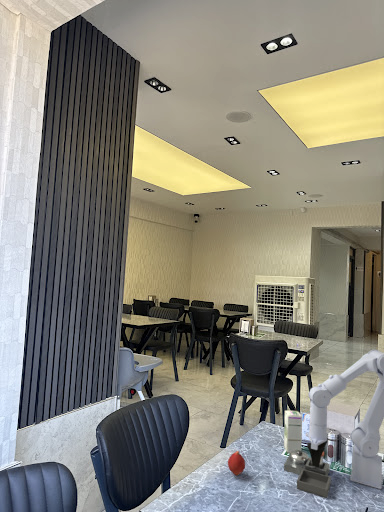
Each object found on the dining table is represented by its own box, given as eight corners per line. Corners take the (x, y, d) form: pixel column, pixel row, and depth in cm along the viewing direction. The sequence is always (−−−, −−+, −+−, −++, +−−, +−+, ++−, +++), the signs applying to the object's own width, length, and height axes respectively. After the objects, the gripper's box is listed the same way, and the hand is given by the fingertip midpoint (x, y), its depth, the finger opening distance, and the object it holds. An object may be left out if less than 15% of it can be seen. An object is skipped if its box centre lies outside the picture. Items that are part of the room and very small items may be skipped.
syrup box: (301, 454, 140) (302, 415, 141) (286, 453, 140) (287, 414, 141) (297, 447, 145) (298, 410, 147) (283, 446, 146) (284, 409, 147)
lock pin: (324, 468, 126) (325, 450, 126) (322, 473, 122) (323, 455, 122) (310, 464, 128) (311, 446, 128) (308, 469, 124) (309, 451, 124)
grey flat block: (329, 469, 129) (330, 455, 129) (325, 482, 120) (326, 467, 120) (290, 458, 135) (290, 445, 136) (283, 470, 126) (284, 455, 127)
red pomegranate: (224, 476, 120) (226, 451, 121) (231, 469, 125) (232, 445, 126) (241, 481, 117) (242, 456, 118) (247, 474, 122) (248, 449, 123)
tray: (330, 484, 119) (330, 476, 119) (326, 498, 111) (327, 490, 111) (302, 476, 123) (302, 468, 123) (296, 488, 115) (296, 480, 115)
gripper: (309, 414, 134) (308, 452, 133) (302, 426, 121) (300, 468, 120) (329, 418, 131) (328, 457, 130) (324, 432, 118) (323, 474, 117)
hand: (316, 463), depth 125 cm, fingers closed on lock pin, 4 cm apart
